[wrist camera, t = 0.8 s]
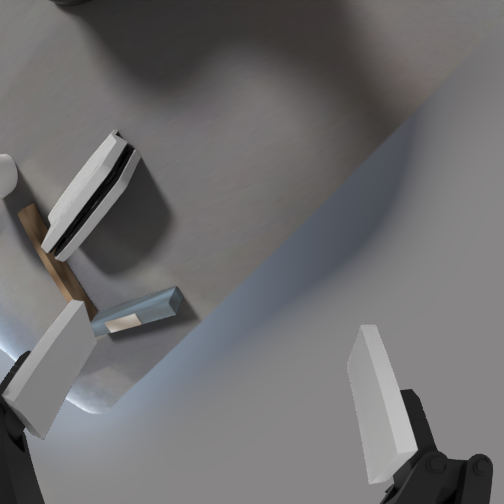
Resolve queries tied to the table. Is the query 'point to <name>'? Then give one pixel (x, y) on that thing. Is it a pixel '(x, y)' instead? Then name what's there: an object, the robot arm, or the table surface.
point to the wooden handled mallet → (100, 321)
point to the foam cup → (7, 175)
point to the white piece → (90, 196)
